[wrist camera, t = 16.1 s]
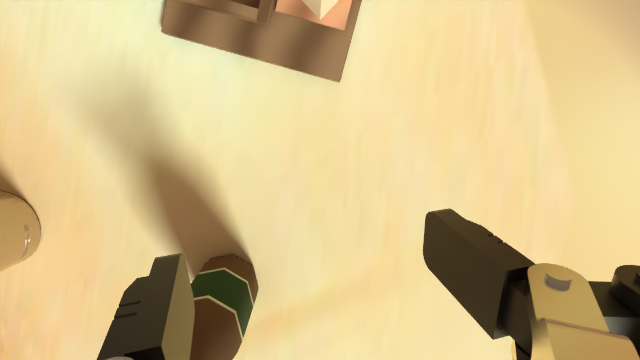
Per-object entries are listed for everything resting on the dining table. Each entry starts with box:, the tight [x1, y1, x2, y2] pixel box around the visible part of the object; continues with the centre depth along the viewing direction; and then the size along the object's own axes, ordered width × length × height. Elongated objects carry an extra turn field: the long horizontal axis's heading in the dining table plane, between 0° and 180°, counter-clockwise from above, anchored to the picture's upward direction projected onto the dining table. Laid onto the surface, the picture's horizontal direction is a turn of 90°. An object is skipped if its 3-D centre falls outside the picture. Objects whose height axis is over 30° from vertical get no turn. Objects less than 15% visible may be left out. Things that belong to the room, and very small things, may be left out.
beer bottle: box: [190, 254, 258, 360], centre depth 33 cm, size 8×8×24 cm
